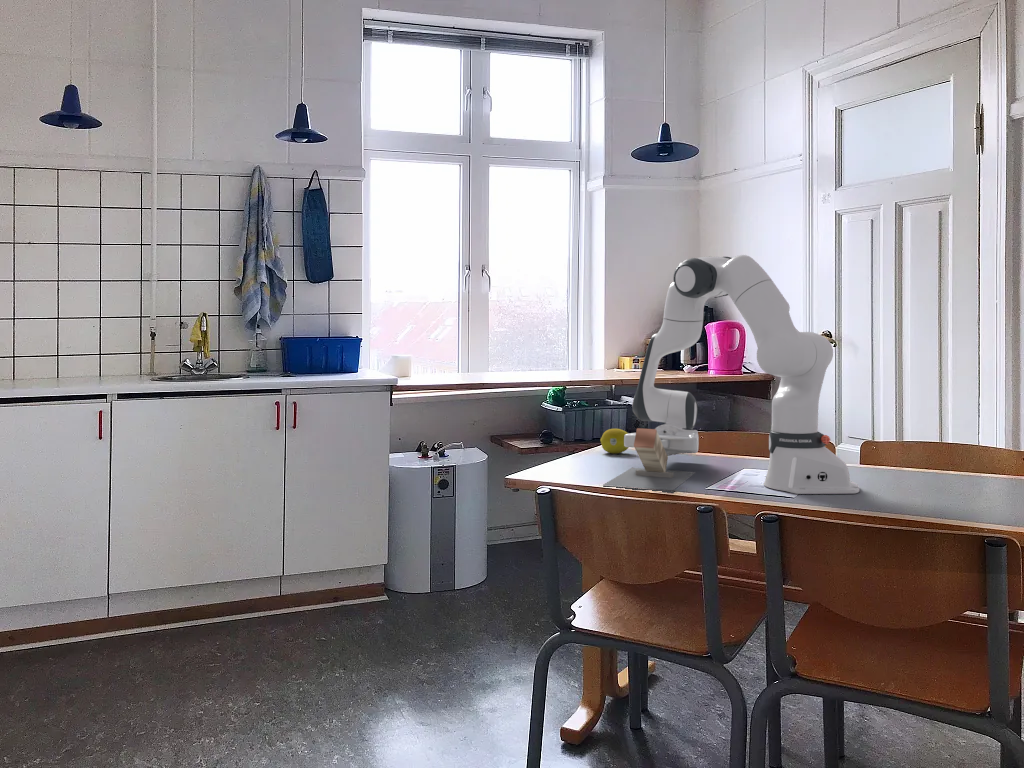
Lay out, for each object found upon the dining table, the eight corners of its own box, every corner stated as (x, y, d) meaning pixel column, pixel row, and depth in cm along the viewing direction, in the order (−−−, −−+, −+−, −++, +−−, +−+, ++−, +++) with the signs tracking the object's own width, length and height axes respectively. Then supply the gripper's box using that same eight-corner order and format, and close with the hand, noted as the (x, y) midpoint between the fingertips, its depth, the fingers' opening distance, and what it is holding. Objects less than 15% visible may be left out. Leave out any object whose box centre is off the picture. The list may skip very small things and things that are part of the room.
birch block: (649, 456, 226) (636, 428, 214) (667, 457, 224) (655, 429, 212) (646, 472, 224) (633, 445, 211) (665, 474, 222) (652, 446, 209)
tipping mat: (632, 470, 234) (632, 463, 234) (696, 474, 227) (696, 467, 226) (603, 487, 211) (603, 480, 210) (673, 493, 203) (673, 485, 203)
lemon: (595, 453, 263) (595, 428, 263) (606, 450, 270) (606, 426, 269) (626, 456, 257) (626, 431, 256) (637, 453, 264) (637, 428, 263)
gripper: (631, 426, 238) (617, 430, 225) (703, 430, 229) (692, 434, 217) (630, 448, 238) (616, 453, 225) (702, 453, 230) (692, 458, 217)
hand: (654, 444), depth 221 cm, fingers closed, pressing on birch block
